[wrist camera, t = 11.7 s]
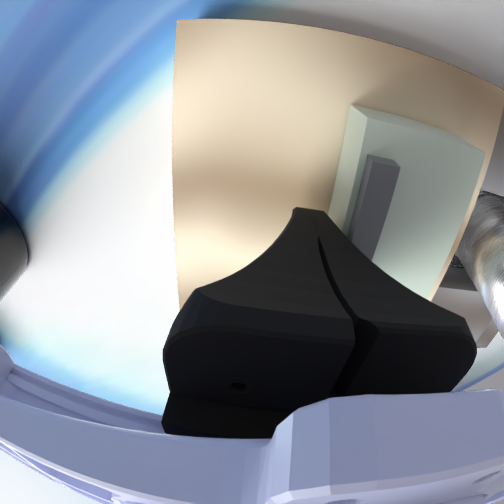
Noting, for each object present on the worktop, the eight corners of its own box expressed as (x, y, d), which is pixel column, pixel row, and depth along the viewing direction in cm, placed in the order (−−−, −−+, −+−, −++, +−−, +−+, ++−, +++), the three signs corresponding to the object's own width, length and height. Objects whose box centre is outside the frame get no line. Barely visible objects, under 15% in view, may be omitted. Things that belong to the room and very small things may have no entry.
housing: (476, 325, 17) (486, 347, 16) (190, 295, 18) (181, 320, 16) (563, 131, 9) (585, 143, 8) (193, 24, 10) (177, 19, 8)
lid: (384, 313, 14) (396, 365, 12) (305, 304, 15) (306, 359, 12) (450, 131, 9) (495, 160, 7) (350, 104, 9) (373, 122, 7)
